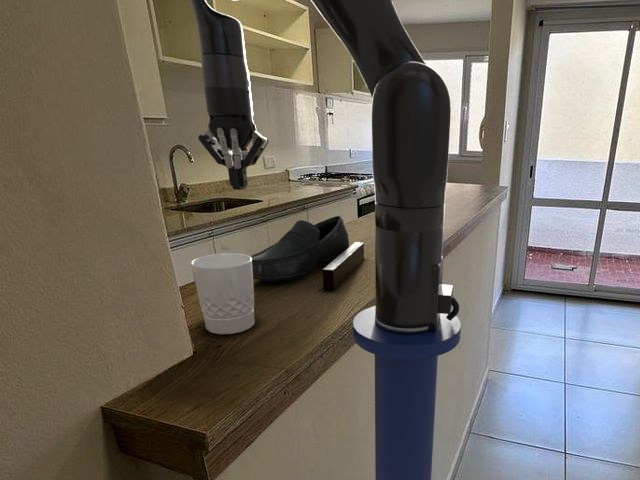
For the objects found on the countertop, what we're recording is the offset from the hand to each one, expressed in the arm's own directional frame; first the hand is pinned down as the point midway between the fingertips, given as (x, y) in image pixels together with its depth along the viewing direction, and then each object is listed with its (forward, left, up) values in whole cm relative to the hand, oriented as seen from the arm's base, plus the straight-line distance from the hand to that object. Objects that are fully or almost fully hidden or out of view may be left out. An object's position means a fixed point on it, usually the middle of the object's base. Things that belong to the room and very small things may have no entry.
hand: (239, 189), depth 84 cm
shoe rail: (-19, -4, -16) cm, 25 cm away
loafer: (-9, -4, -16) cm, 19 cm away
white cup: (-10, +25, -16) cm, 32 cm away
